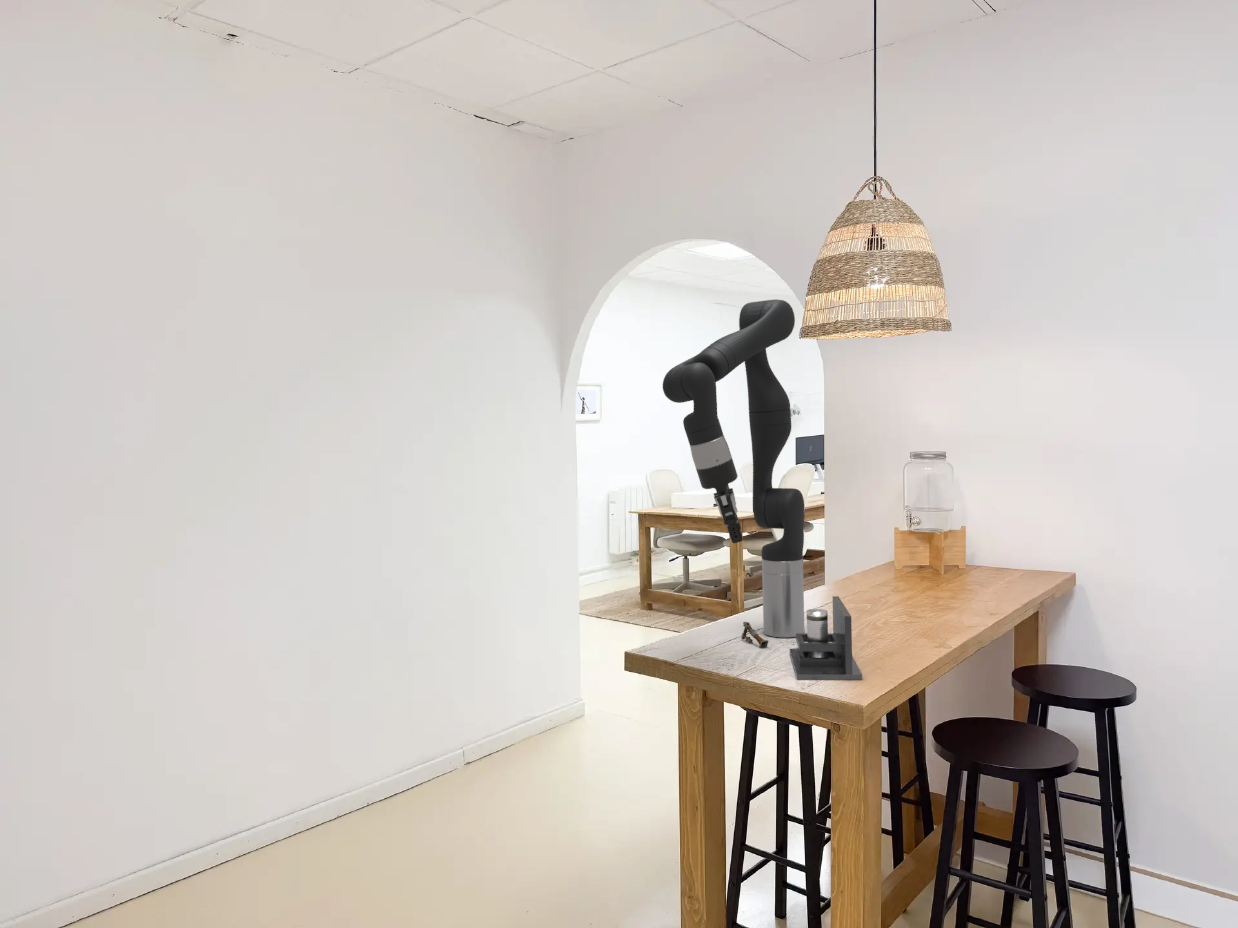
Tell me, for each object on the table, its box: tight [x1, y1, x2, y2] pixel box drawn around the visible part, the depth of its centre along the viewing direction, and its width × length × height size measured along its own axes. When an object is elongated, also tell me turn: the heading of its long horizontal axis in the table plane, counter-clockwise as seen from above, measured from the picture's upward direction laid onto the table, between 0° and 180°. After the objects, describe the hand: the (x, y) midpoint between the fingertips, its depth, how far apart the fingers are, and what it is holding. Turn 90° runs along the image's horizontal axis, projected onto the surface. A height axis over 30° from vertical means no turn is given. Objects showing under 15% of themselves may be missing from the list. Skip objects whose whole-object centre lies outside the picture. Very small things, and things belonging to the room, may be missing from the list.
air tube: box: [806, 608, 829, 658], centre depth 169 cm, size 4×4×10 cm
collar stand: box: [789, 595, 863, 681], centre depth 169 cm, size 18×12×12 cm, turn 173°
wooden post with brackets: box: [740, 621, 769, 649], centre depth 188 cm, size 2×8×4 cm, turn 28°
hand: (737, 536), depth 174 cm, fingers open, 8 cm apart
